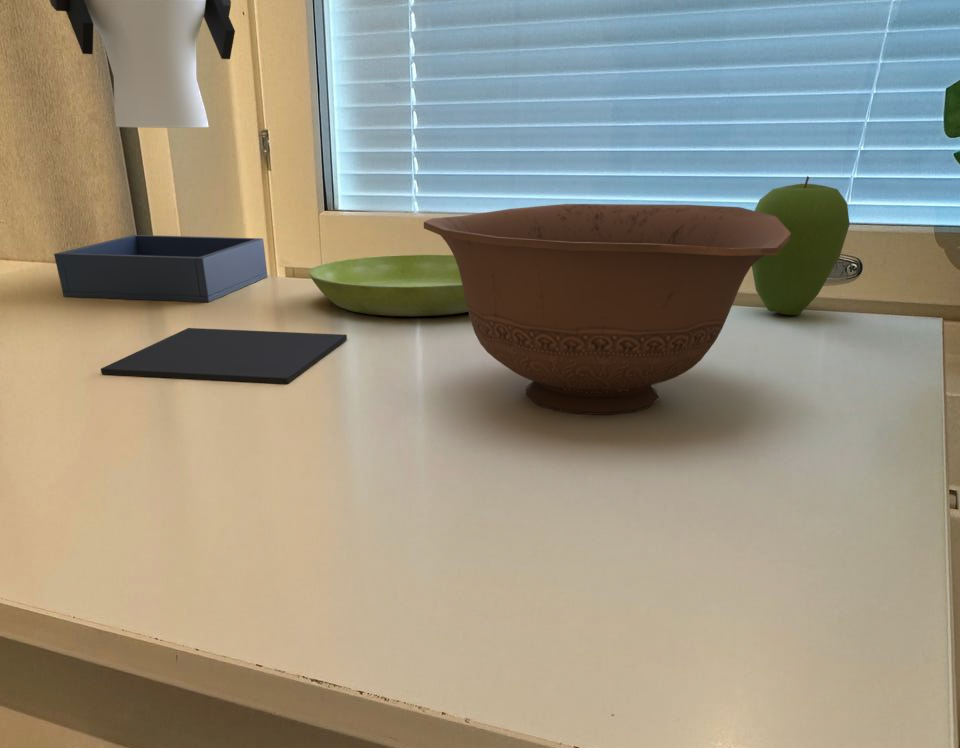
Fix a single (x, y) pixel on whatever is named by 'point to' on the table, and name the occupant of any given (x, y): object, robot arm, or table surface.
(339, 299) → the saucer
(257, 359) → the mat
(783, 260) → the apple
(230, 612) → the table surface
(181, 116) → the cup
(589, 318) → the bowl
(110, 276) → the bin
